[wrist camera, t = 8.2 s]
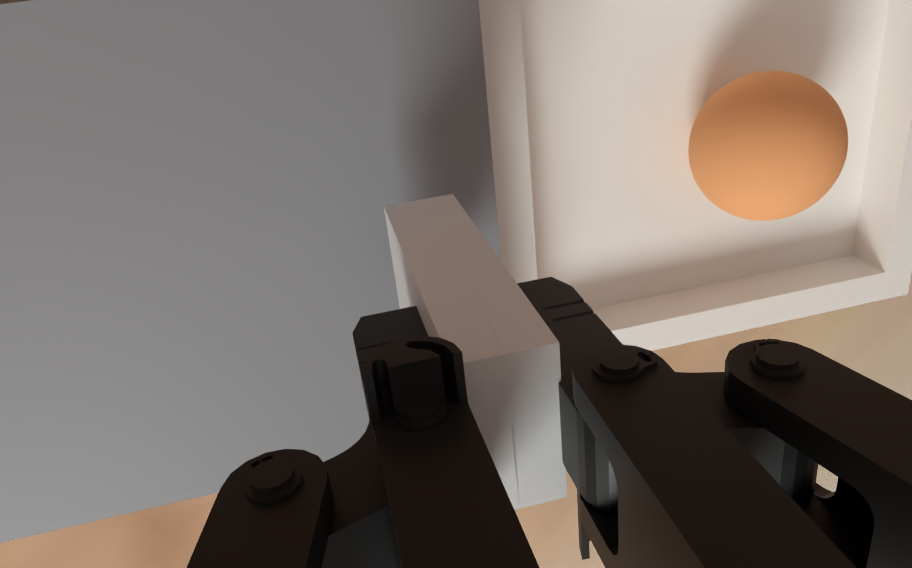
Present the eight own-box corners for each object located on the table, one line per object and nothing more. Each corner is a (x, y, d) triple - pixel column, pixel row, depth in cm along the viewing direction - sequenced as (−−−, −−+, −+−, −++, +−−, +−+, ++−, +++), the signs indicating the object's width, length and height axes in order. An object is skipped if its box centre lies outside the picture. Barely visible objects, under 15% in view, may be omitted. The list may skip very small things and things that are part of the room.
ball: (721, 97, 18) (672, 66, 21) (713, 250, 19) (668, 199, 23) (891, 78, 18) (813, 51, 21) (867, 234, 19) (798, 185, 23)
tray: (923, -117, 21) (984, -123, 19) (864, 269, 26) (907, 293, 24) (454, -59, 19) (473, -59, 17) (493, 348, 24) (511, 381, 22)
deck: (434, -57, 19) (473, -55, 15) (478, 351, 24) (515, 423, 20) (-285, 32, 16) (-442, 59, 13) (-58, 466, 21) (-122, 570, 18)
